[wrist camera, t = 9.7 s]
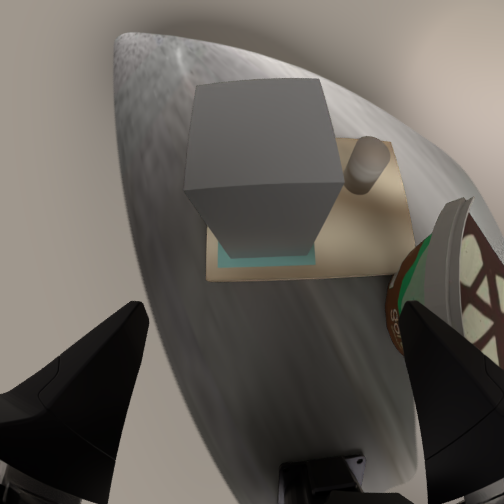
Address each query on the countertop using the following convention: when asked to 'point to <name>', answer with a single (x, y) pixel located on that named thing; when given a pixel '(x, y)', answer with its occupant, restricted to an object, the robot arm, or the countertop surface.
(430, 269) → the food container
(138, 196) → the countertop surface
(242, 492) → the countertop surface
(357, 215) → the stand board
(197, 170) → the tall gray pillar
